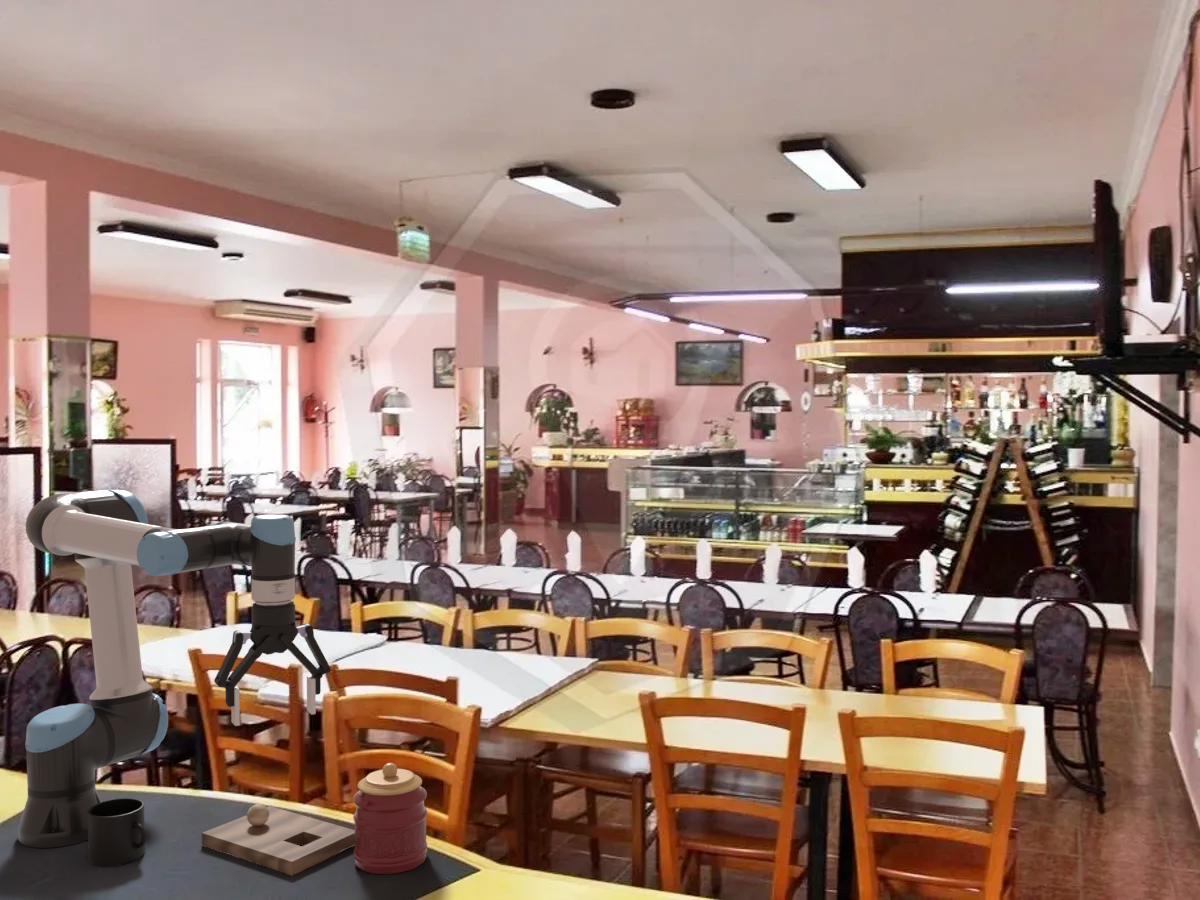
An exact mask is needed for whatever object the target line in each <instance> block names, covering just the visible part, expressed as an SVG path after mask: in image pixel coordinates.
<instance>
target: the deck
mask: <svg viewBox="0 0 1200 900" xmlns="http://www.w3.org/2000/svg"><path fill="white" fill-rule="evenodd" d="M266 807H267V808H268V810H269V818H268V820H267V822H266V823H265V824H263V825H261V826H253V825H251V824H250V823H249V822H248V819H247V814H246V815H244V816H241V817H239V818H237V819H233V820H231V821H229V822H227V823H223V824H222V825H221V824H220V825H219V826H216V827H213V828H211V829H208V830H206V831H203V832H202V833H201V846H202V845H203V846H205V847H204V848H206V847H209V848H212V849H216V850H218V851H222V852H225V853H229V854H231V855H234V856H237V857H239V858H243V859H245V860H249V861H252V862H255V863H258V864H261V865H264V866H266V867H265V868H267V867H269V868H268V869H270V868H272V869H271V870H273V869H275V870H274V871H276V870H278V871H277V872H279V871H280V872H279V873H282V872H283V873H282V874H285V873H286V874H285V875H289V876H292V877H293V876H295V875H297V874H299V873H301V872H303V871H305V869H306V870H308V869H310V868H312V867H314V866H315V864H316V865H318V864H320V863H322V862H324V861H323V860H325V859H327V858H329V857H331V856H333V855H335V854H336V853H338V852H340V851H341V850H343V849H345V848H348V847H350V846H352V845H354V844H355V829H351V828H348V827H345V826H343V825H342V826H341V825H337V824H335V823H330V822H327V821H324V820H320V819H318V818H317V819H316V818H314V817H310V816H306V815H303V814H299V813H296V812H292V811H289V810H287V809H286V810H285V809H282V808H278V807H275V806H272V805H269V806H266ZM302 844H307V845H302ZM300 845H302V846H300ZM203 846H202V847H203ZM209 848H208V849H209ZM212 849H211V850H212ZM218 851H217V852H218ZM335 856H336V855H335ZM333 857H334V856H333ZM239 858H238V859H239ZM331 858H332V857H331ZM329 859H330V858H329ZM245 860H244V861H245ZM327 860H328V859H327ZM249 861H248V862H249ZM321 861H322V862H321ZM325 861H326V860H325ZM252 862H251V863H252ZM319 862H320V863H319ZM255 863H254V864H255ZM317 863H318V864H317ZM258 864H257V865H258ZM261 865H260V866H261ZM313 865H314V866H313ZM264 866H263V867H264ZM311 866H312V867H311ZM309 867H310V868H309ZM307 868H308V869H307ZM294 874H295V875H294Z"/></svg>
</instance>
